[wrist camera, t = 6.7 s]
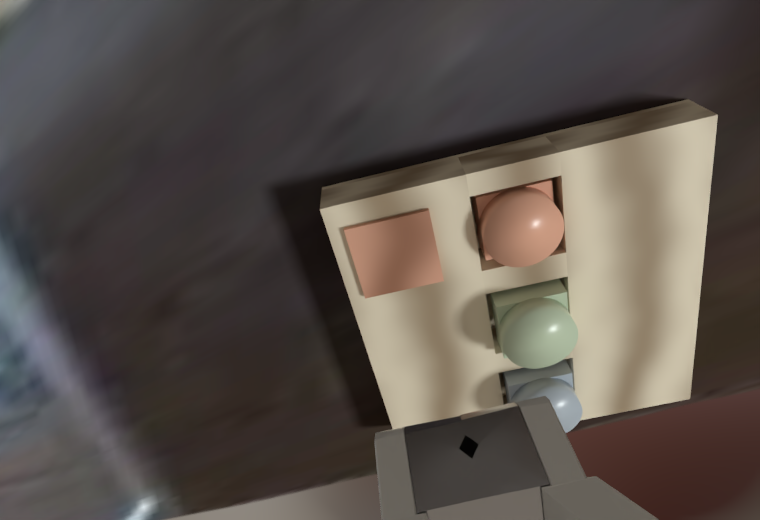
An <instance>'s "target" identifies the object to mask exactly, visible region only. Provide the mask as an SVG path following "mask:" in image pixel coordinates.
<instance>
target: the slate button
mask: <svg viewBox="0 0 760 520" xmlns="http://www.w3.org/2000/svg"><path fill="white" fill-rule="evenodd" d="M503 379H504V385H505V391H506V398H507V404H508V403H513V402H515V403H517V402H519V401H524V400H528V399H533V398H537V397H542V396H546V397H547V398H548V399H549V400H550V402H551V404H552V406H553V408H554V410H555V412H556V414H557V416H558V419H559V421H560V423H561V425H562V427H563V429H564V431H565V433H567V432H569V431H570V430H572V429H573V428H574V427H575V426H576V425H577V424H578V422H579V421H580V419H581V417H582V406H581V404H580V401H579V399H578V397H577V395H576V393H575V391H574V389H573V376H572V371H571V369H570V367H569V365H568V363H567V361H566V359H564V360H561V361H560V362H558V363H556V364H554V365H551V366H548V367H544V368H537V369H530V368H520V369H515V370H510V371H505V372H503Z"/></svg>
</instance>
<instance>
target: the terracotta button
mask: <svg viewBox="0 0 760 520" xmlns="http://www.w3.org/2000/svg"><path fill="white" fill-rule="evenodd" d="M472 202H473V209H474V215H475V221H476V227H477V233H478V239H479V245H480V247H481V250H482V252H483V255H484V257H485V260H491V259H494V260H495V261H497V262H498V263H500V264H502V265H505V266H509V267H526V266H530V265H534V264H536V263H538V262H540V261H542V260H544V259H545V258H547V257H548V256H549V255H551V254H552V253H553V252H554V250H555V249H556V248H557V247H558V245H559V243H560V242H561V239H562V237H563V233H564V220H563V216H562V214H561V212H560V211H559V209H558V208H557V207H556V205H555V204H554V198H553V185H552V179H551V178H548V179H544V180H540V181H535V182H531V183H527V184H523V185H518V186H514V187H510V188H505V189H501V190H497V191H493V192H488V193H484V194H480V195H476V196H472Z"/></svg>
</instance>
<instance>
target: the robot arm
mask: <svg viewBox="0 0 760 520" xmlns="http://www.w3.org/2000/svg"><path fill="white" fill-rule="evenodd" d="M374 443H375V454H376V464H377V475H378V486H379V496H380V505H381V506H380V507H381V518H382V520H659V519H657V518H655V517H654V516H653V515H651V514H650V513H648V512H647V511H646V510H644V509H643V508H641V507H640V506H638V505H637V504H635V503H634V502H633V501H631V500H630V499H628V498H627V497H625V496H624V495H623V494H621V493H620V492H618V491H617V490H615V489H614V488H612V487H611V486H609V485H608V484H607V483H605V482H604V481H602V480H601V479H599V478H598V477H596V476H594V477H589V478H587V477H586V475H585V473H584V471H583V469H582V467H581V465H580V463H579V461H578V458H577V457H576V454H575V452H574V450H573V448H572V446H571V444H570V442H569V440H568V438H567V435H566V433H565V431H564V429H563V427H562V425H561V423H560V421H559V419H558V416H557V414H556V412H555V410H554V408H553V406H552V404H551V402H550V400H549V399H548V398H547V397H546V396H542V397H537V398H533V399H528V400H524V401H519V402H517V403H515V402H513V403H508V404H504V405H500V406H496V407H491V408H487V409H483V410H479V411H474V412H470V413H466V414H462V415H460V416H457V417H452V418H447V419H442V420H437V421H431V422H426V423H421V424H416V425H411V426H406V427H402V428H397V429H392V430H387V431H382V432H378V433H375V441H374Z"/></svg>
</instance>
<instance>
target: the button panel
mask: <svg viewBox="0 0 760 520" xmlns="http://www.w3.org/2000/svg"><path fill="white" fill-rule="evenodd" d="M717 118H718V115H717V114H715V113H713V112H712V111H710V110H708V109H706V108H704V107H702V106H700V105H698V104H696V103H694V102H692V101H690V100H689V99H687V100H683V101H678V102H674V103H670V104H666V105H662V106H658V107H654V108H649V109H645V110H641V111H637V112H633V113H629V114H624V115H620V116H616V117H612V118H608V119H604V120H600V121H595V122H591V123H587V124H583V125H579V126H575V127H571V128H566V129H562V130H558V131H554V132H550V133H546V134H541V135H537V136H533V137H529V138H525V139H521V140H517V141H512V142H508V143H504V144H500V145H496V146H492V147H487V148H483V149H479V150H475V151H471V152H467V153H463V154H458V155H454V156H450V157H446V158H442V159H438V160H434V161H429V162H425V163H421V164H417V165H413V166H409V167H404V168H400V169H396V170H392V171H388V172H384V173H380V174H375V175H371V176H367V177H363V178H359V179H355V180H350V181H346V182H342V183H338V184H334V185H330V186H326V187H322V192H321V201H320V212H321V215H322V218H323V221H324V224H325V227H326V230H327V233H328V236H329V239H330V242H331V245H332V248H333V251H334V254H335V257H336V260H337V263H338V266H339V269H340V272H341V275H342V278H343V281H344V284H345V287H346V290H347V293H348V296H349V299H350V302H351V305H352V308H353V311H354V314H355V317H356V320H357V323H358V326H359V329H360V332H361V335H362V338H363V341H364V344H365V347H366V350H367V353H368V356H369V359H370V362H371V365H372V368H373V371H374V374H375V377H376V380H377V383H378V386H379V389H380V392H381V395H382V398H383V401H384V404H385V407H386V410H387V413H388V416H389V419H390V422H391V425H392V428H393V429H397V428H402V427H406V426H411V425H416V424H421V423H426V422H431V421H437V420H442V419H447V418H452V417H457V416H460V415H462V414H466V413H470V412H474V411H479V410H483V409H487V408H491V407H496V406H500V405H504V404H507V398H506V391H505V385H504V379H503V372H505V371H510V370H515V369H520V368H524V367H520V366H518V365H516V364H514V363H513V362H512V361H510V360H509V359H508V358H505V359H504V357H503V354H502V351H501V348H500V346H499V343H498V340H497V335H496V328H495V322H494V316H493V310H492V303H491V297H490V293H494V292H498V291H503V290H507V289H512V288H517V287H521V286H526V285H530V284H535V283H539V282H544V281H549V280H553V279H558V278H559V279H560V281H561V283H562V284H563V286H564V288H565V289H566V291H567V298H568V312H569V313H570V315H571V317H572V319H573V321H574V322H575V324H576V326H577V329H578V340H577V343H576V345H575V347H574V349H573V350H572V352H571V353H570V354H569V355H568V356H567V357H565V358H564V359H566V361H567V363H568V365H569V367H570V369H571V371H572V376H573V389H574V391H575V393H576V395H577V397H578V399H579V401H580V404H581V406H582V417H581V419H580V420H584V419H590V418H595V417H600V416H605V415H610V414H615V413H620V412H625V411H630V410H636V409H641V408H646V407H651V406H656V405H661V404H666V403H671V402H676V401H682V400H687V399H690V393H691V383H692V373H693V363H694V352H695V342H696V332H697V322H698V312H699V301H700V291H701V281H702V271H703V261H704V250H705V240H706V230H707V220H708V210H709V199H710V189H711V179H712V169H713V159H714V148H715V138H716V128H717ZM548 178H551V179H552V185H553V198H554V204H555V205H556V207H557V208H558V209H559V211H560V212H561V214H562V216H563V220H564V233H563V237H562V239H561V242H560V243H559V245H558V247H557V248H556V249H555V250H554V252H553V253H552V254H551V255H549V256H548V257H547V258H545V259H544V260H542V261H540V262H538V263H536V264H534V265H530V266H526V267H509V266H505V265H502V264H500V263H498V262H497V261H495V260H494V259H491V260H485V257H484V255H483V252H482V250H481V247H480V245H479V239H478V233H477V227H476V221H475V215H474V209H473V202H472V196H476V195H480V194H484V193H488V192H493V191H497V190H501V189H505V188H510V187H514V186H518V185H523V184H527V183H531V182H535V181H540V180H544V179H548ZM564 359H563V360H564Z"/></svg>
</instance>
